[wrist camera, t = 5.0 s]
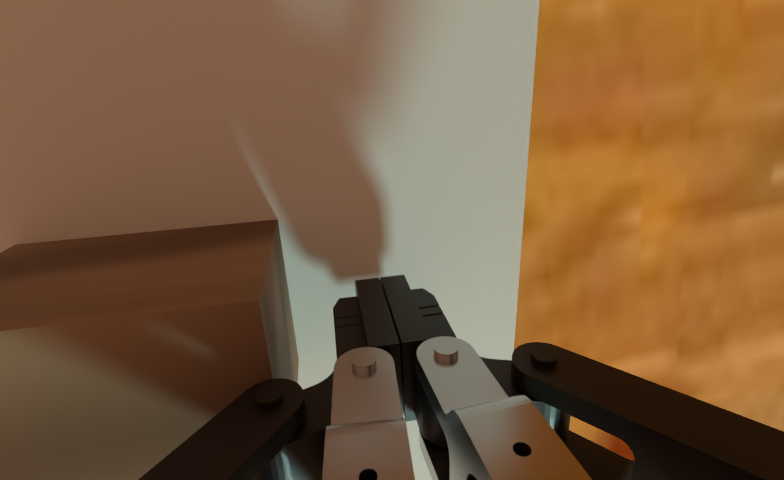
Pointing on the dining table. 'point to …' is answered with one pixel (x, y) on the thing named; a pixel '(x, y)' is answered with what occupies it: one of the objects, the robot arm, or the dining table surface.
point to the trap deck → (284, 142)
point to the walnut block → (134, 344)
